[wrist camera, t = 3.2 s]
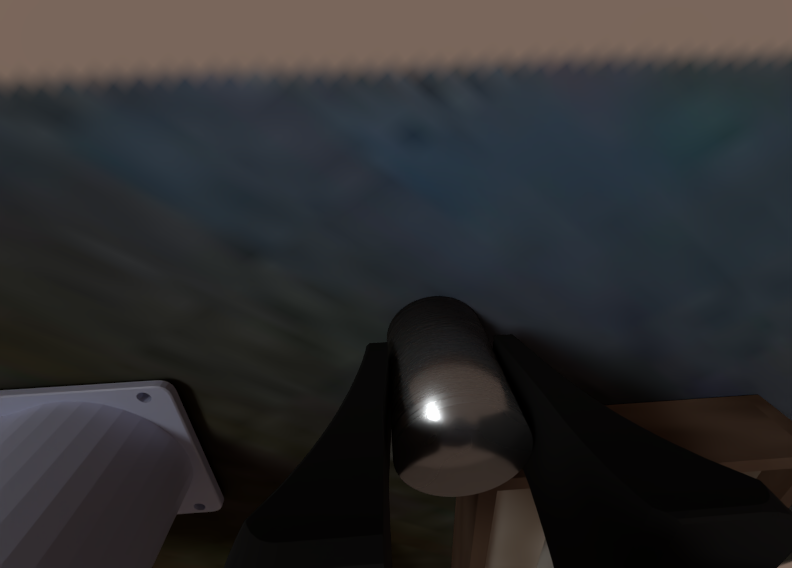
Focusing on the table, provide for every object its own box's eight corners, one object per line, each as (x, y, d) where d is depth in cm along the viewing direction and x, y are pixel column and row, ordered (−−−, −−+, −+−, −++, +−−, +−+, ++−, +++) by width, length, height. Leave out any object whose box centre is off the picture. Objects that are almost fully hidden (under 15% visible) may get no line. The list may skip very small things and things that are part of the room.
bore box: (450, 568, 22) (461, 633, 19) (462, 415, 16) (480, 480, 13) (663, 551, 22) (701, 612, 20) (758, 394, 16) (834, 453, 13)
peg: (389, 376, 14) (395, 501, 10) (384, 299, 13) (389, 409, 8) (477, 370, 14) (522, 491, 10) (484, 293, 13) (543, 398, 8)
